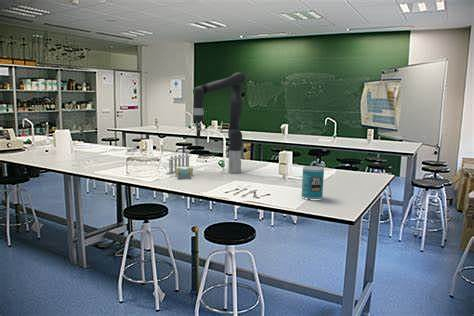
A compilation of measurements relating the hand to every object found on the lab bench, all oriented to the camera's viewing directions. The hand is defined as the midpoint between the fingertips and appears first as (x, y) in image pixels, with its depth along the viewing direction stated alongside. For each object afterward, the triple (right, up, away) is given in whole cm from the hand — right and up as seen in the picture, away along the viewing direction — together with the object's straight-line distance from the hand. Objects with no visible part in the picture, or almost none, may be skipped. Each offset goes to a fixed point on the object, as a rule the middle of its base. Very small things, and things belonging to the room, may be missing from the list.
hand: (198, 136), depth 272 cm
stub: (-9, -29, -9) cm, 32 cm away
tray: (-9, -30, -9) cm, 32 cm away
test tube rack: (-16, -26, +12) cm, 33 cm away
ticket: (-10, -29, -2) cm, 30 cm away
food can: (+72, -39, -55) cm, 99 cm away
